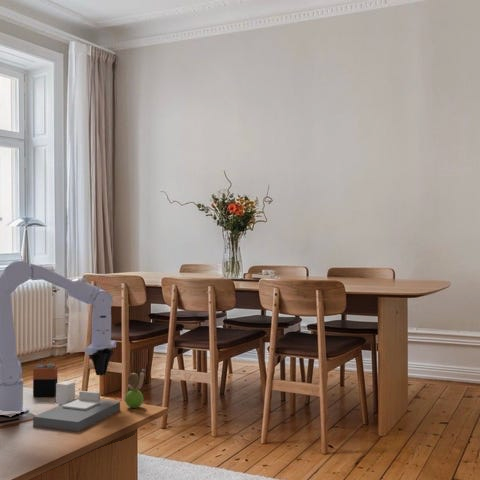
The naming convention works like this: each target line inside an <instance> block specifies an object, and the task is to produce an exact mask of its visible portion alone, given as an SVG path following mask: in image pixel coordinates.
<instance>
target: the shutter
mask: <svg viewBox="0 0 480 480" xmlns="http://www.w3.org/2000/svg"><path fill="white" fill-rule="evenodd" d="M78 393H79V395H78V398H79V400H75V401H73V402H70V403H68V404H66V405H63V406H62V408H70V409H79V410H87V409H89V408H92V407H94V406H96V405H98V404H100V402H99V401H100V400H101V392H97V391H86V390H80V391H78Z"/></svg>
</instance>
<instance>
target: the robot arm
mask: <svg viewBox="0 0 480 480" xmlns="http://www.w3.org/2000/svg"><path fill="white" fill-rule="evenodd" d="M30 279H31V281H39V280H42V281H45V282H47V283H49V284H52V285H55V286H56V287H57V286H58V287H60V288H62V289H63V290H66V291H67V293H68V296H70V297H71V298H73V299H75V300H78V301H81V302H83V303H84V304H87V305H90V304H91V306H92V315H91V344H89V346H87V347H85V349H84V350H85V351H84V354H85V355H88V356H89V357H90V359H91V361H92V364H93V366H94V367H93V368H94V371H95V375H96V376H104V375H106V374H107V369H108V366H109V362H110V360H111V358H112V356H113V354H114V349H112V348H116V347H117V340H112V306H113V304H114V299H113V296H112V294H111V293H110V292H109V291H107V290H104V289H103V288H101V286H99V285H96V286H95V285H94V284H91V283H89V282H87V280H86V279H85V278H83V277H82V278H74V279H72V280H71V279H69V278H68V277H65V276H63V275H61V274H58V273H57V272H55V271H53V270H51V269H49V268H46V267H44V266H42V265H39V264H36V263H32V262H29V263H28V262H27V261H25V260H23V259H16V260H13V261H12V262H11V263H10V264H8V265H7V266H6V267H5V268H4V270H3V272H2V274H1V275H0V410H2V411H25V412H24V413H27V412H29V411H30V408H25V407H24V405H23V404H24V379H23V378H22V374H23V369H22V363H21V360H19V358H18V353H17V345H16V344H17V343H16V335H15V327H14V317H13V316H14V315H13V305H12V304H13V303H12V296H11V295H12V294H13V292H15V291H16V289H18V287H19V286H20V285H22V284H24V283H27V282H28V281H29V280H30Z"/></svg>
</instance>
